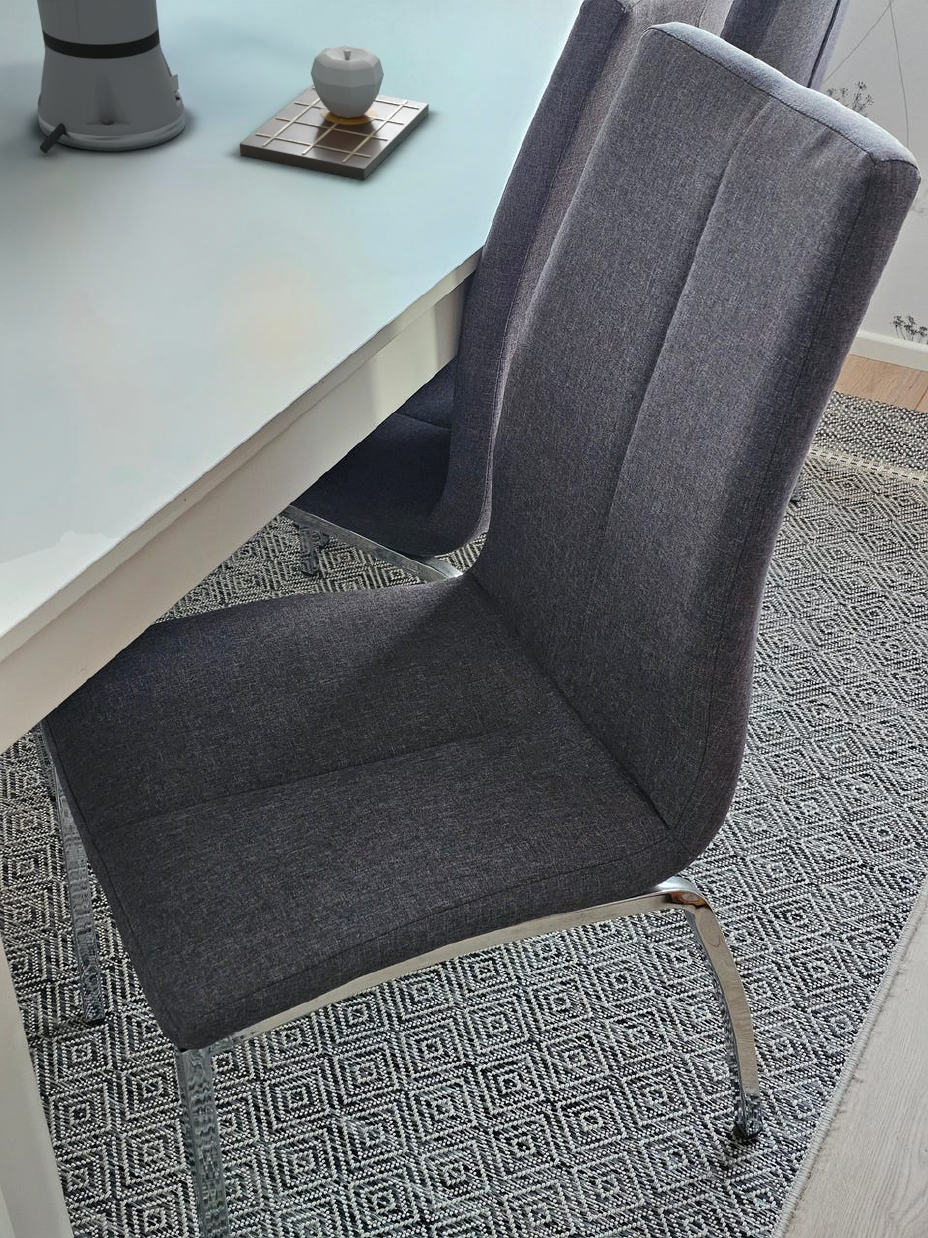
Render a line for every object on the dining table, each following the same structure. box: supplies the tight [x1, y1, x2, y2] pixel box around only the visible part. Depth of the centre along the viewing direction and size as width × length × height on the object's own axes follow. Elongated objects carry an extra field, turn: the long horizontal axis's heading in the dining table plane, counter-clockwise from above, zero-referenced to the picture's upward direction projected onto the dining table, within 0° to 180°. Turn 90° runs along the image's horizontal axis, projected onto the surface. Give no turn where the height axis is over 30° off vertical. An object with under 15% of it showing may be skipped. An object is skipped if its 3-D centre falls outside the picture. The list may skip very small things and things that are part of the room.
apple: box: [310, 45, 385, 118], centre depth 131 cm, size 8×8×7 cm
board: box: [239, 83, 430, 181], centre depth 131 cm, size 20×14×1 cm
